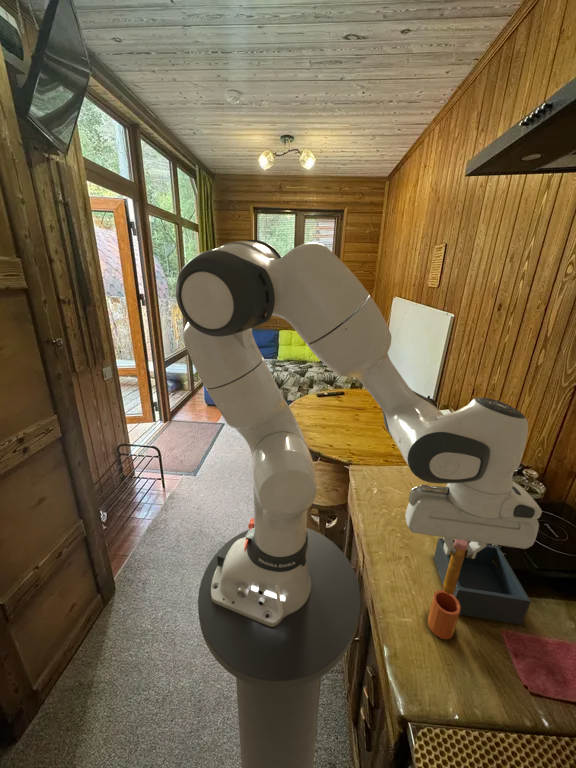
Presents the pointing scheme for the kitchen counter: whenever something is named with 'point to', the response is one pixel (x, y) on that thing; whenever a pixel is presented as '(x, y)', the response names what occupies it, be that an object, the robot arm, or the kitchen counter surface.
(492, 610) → the bin
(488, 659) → the kitchen counter surface
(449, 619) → the pen cup
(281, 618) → the robot arm
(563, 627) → the kitchen counter surface
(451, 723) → the kitchen counter surface
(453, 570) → the pencil
